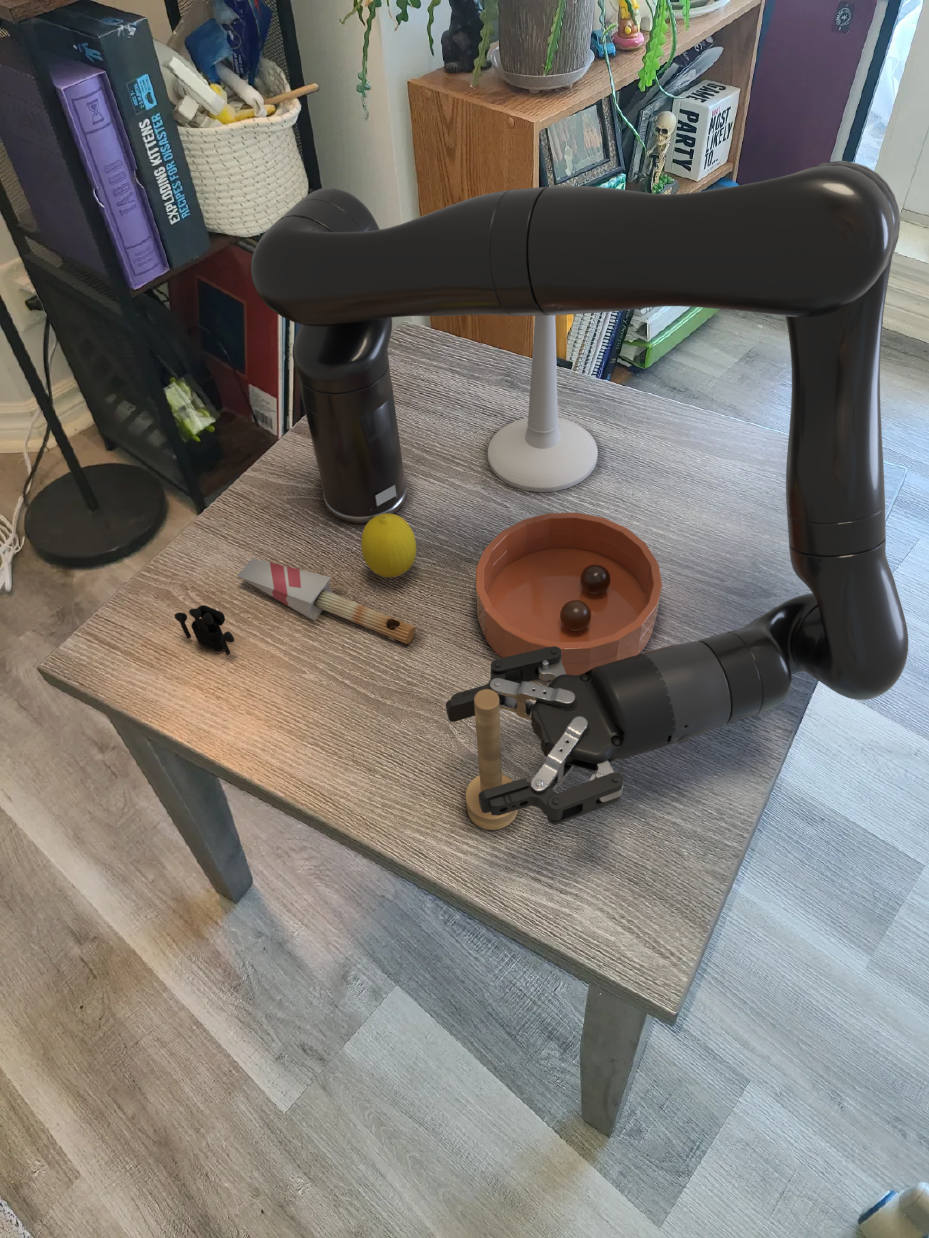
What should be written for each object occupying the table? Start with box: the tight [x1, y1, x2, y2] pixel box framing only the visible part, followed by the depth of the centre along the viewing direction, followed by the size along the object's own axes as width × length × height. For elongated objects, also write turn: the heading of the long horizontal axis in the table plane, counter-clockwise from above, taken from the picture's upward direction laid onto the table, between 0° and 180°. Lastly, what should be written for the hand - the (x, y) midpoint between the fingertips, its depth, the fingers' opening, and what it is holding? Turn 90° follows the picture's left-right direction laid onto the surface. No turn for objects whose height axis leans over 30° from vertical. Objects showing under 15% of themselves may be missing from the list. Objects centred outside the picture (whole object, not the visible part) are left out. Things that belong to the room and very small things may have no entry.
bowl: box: [475, 512, 663, 675], centre depth 88 cm, size 18×18×5 cm
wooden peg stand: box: [465, 689, 519, 831], centre depth 70 cm, size 4×4×16 cm
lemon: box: [360, 513, 417, 578], centre depth 91 cm, size 6×6×8 cm
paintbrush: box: [236, 557, 416, 645], centre depth 90 cm, size 4×3×20 cm
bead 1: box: [560, 600, 591, 631], centre depth 86 cm, size 3×3×3 cm
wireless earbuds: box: [174, 605, 235, 656], centre depth 87 cm, size 7×2×5 cm, turn 63°
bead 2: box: [580, 565, 611, 595], centre depth 89 cm, size 3×3×3 cm
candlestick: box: [487, 315, 599, 493], centre depth 93 cm, size 13×13×30 cm
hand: (463, 756), depth 69 cm, fingers open, 8 cm apart
